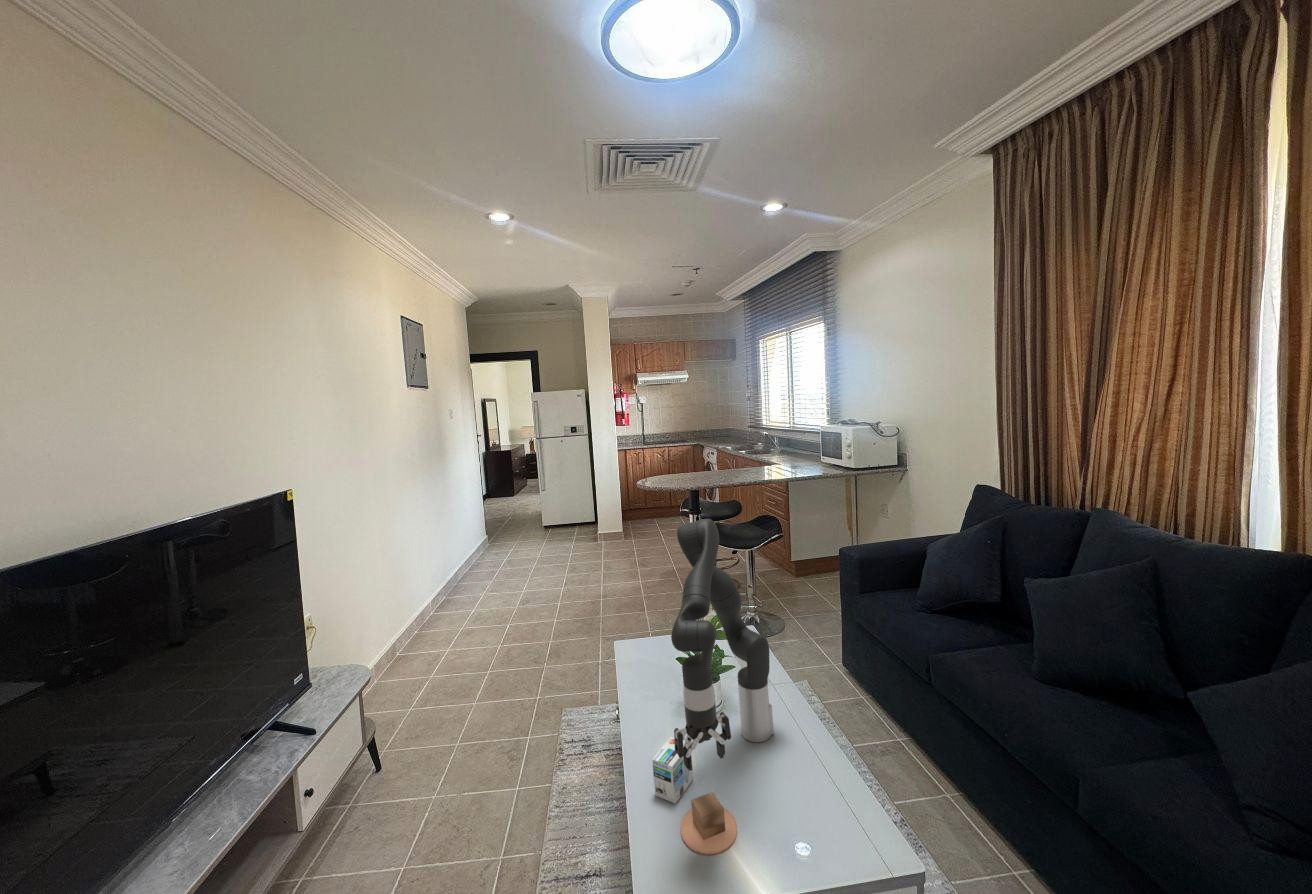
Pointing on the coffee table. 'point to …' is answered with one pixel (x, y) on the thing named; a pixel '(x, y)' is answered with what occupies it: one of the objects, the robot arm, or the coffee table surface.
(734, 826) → the terracotta coaster
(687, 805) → the coffee table surface
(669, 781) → the light bulb box
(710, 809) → the walnut cube
